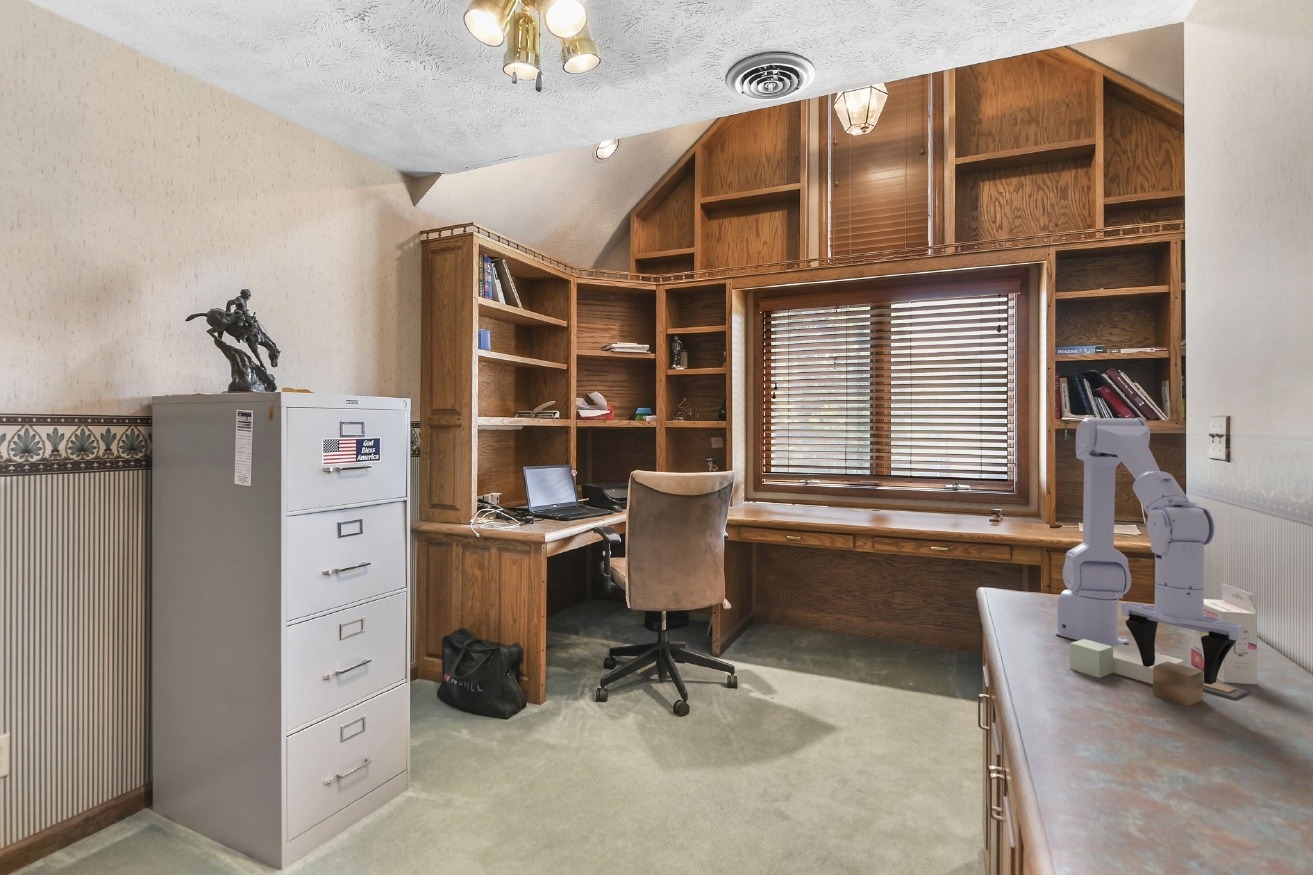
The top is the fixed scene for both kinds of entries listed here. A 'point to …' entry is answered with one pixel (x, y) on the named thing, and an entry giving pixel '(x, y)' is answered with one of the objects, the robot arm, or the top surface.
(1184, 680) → the walnut block
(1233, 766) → the top surface
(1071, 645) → the sage block
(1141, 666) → the base block
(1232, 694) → the tile
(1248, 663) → the ink cartridge box
